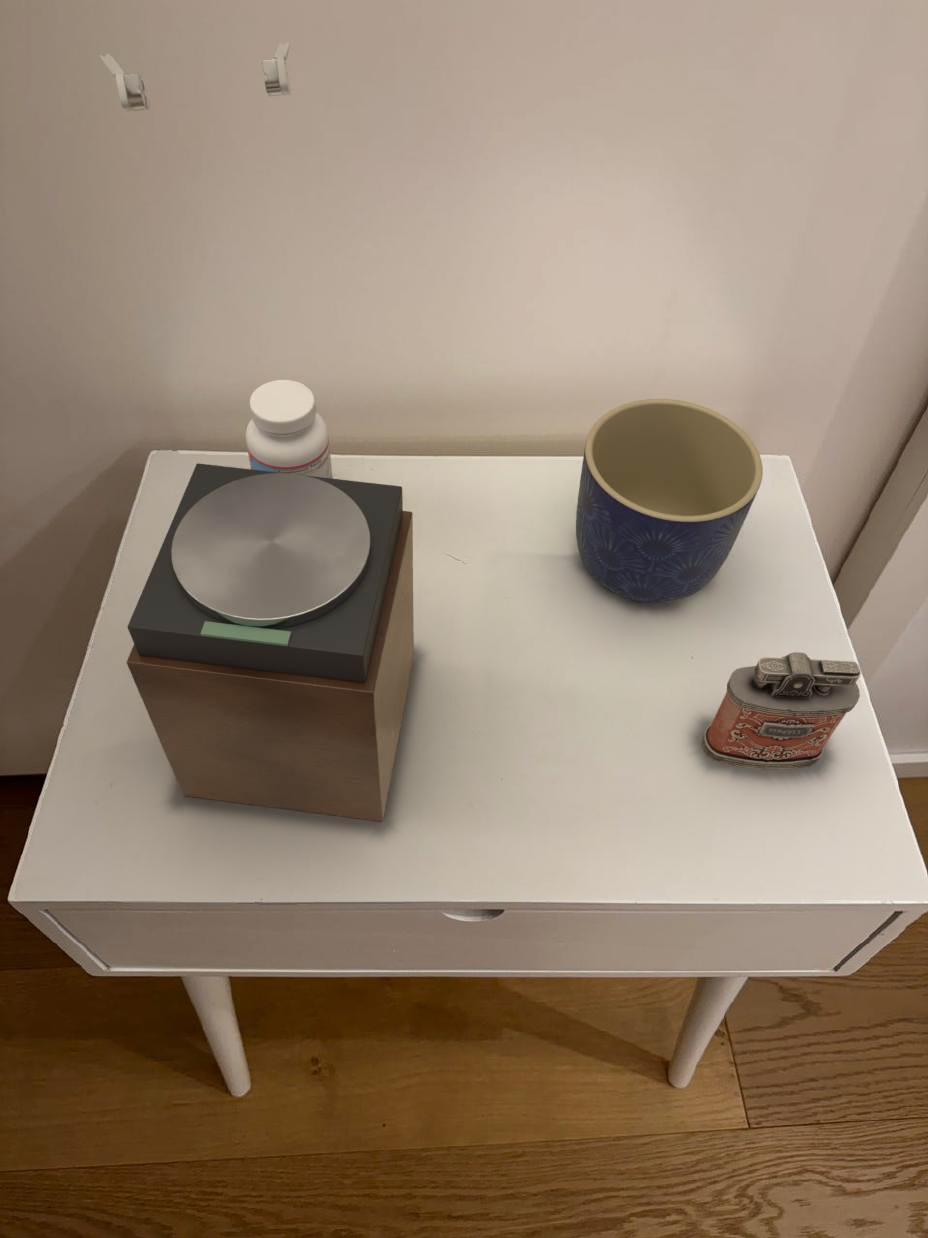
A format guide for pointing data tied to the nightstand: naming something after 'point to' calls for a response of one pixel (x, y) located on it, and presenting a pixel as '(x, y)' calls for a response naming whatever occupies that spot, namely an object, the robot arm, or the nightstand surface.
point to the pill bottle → (287, 431)
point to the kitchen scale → (272, 573)
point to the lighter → (781, 712)
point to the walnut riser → (289, 720)
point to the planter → (663, 497)
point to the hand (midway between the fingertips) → (207, 100)
